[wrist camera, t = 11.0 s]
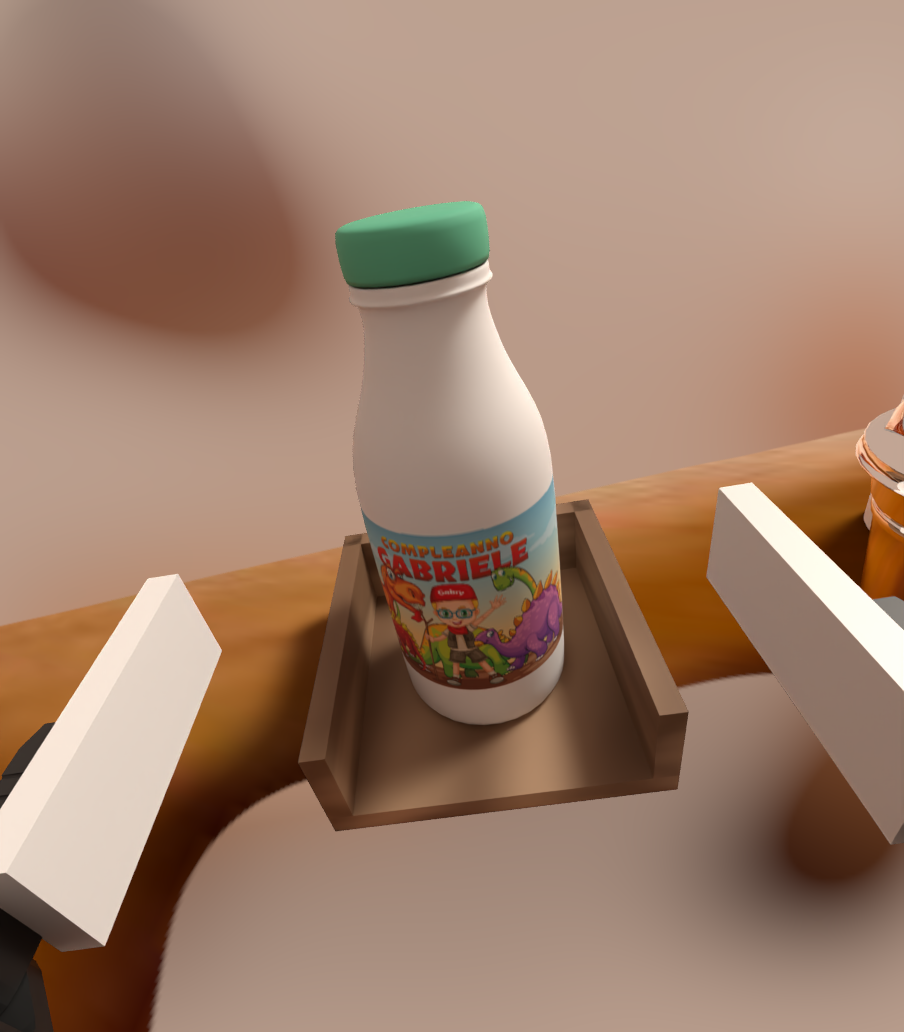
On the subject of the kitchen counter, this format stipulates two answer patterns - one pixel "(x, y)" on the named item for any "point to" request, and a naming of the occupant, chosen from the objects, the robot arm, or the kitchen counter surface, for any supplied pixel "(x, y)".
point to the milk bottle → (452, 468)
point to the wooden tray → (496, 747)
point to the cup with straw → (884, 504)
